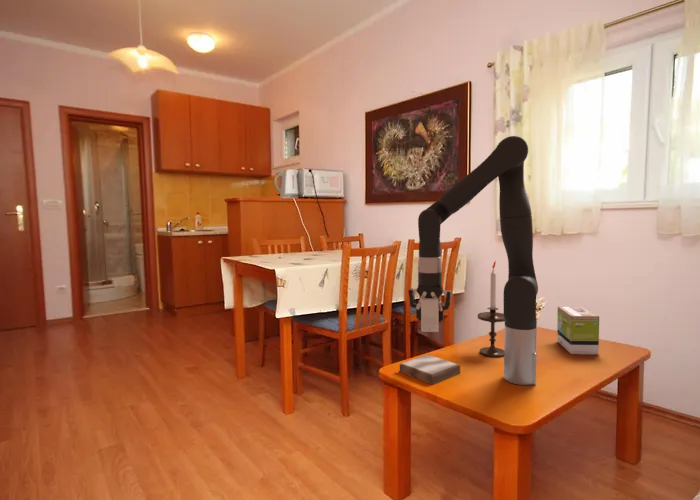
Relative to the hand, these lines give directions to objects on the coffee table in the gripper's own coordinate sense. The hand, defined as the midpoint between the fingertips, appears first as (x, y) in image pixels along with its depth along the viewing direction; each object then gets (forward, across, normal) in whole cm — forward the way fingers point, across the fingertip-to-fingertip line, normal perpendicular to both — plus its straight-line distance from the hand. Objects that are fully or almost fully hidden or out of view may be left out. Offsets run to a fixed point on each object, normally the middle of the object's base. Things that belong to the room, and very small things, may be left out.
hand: (429, 320), depth 137 cm
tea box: (+18, -49, -42) cm, 67 cm away
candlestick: (+18, -19, -26) cm, 37 cm away
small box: (+3, 0, 0) cm, 3 cm away
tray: (+18, 0, 0) cm, 18 cm away
